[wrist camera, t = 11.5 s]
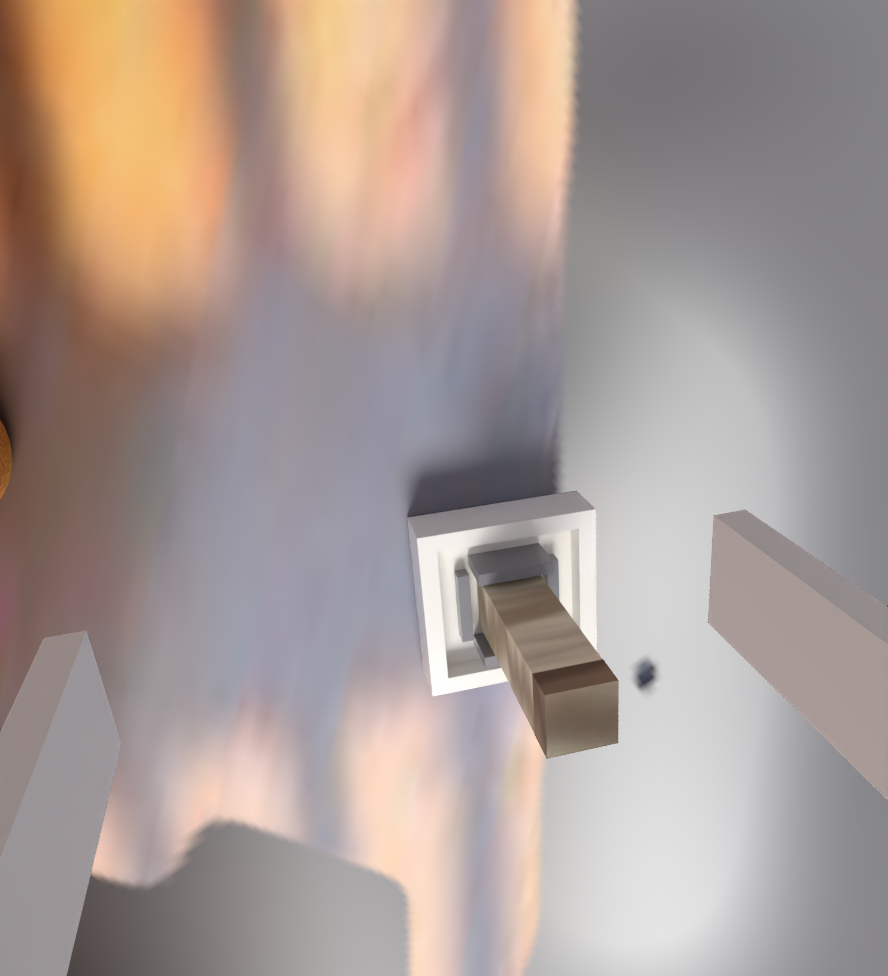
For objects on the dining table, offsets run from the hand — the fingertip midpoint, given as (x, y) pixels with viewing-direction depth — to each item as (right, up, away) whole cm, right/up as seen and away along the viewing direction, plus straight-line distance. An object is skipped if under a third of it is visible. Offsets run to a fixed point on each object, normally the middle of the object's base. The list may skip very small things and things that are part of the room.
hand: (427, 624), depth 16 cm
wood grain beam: (+5, -4, +38) cm, 38 cm away
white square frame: (+4, -4, +39) cm, 40 cm away
